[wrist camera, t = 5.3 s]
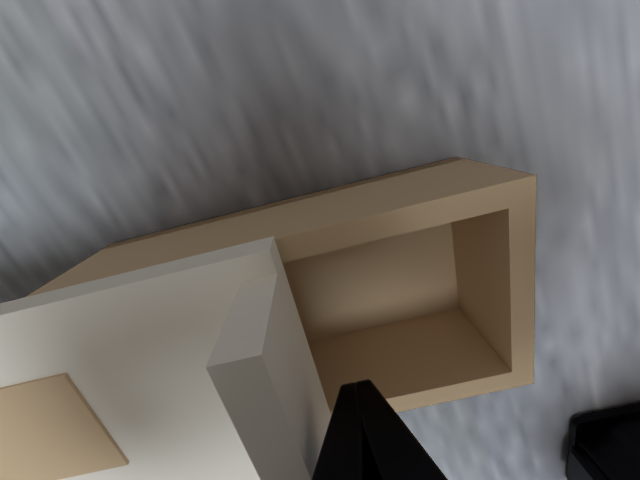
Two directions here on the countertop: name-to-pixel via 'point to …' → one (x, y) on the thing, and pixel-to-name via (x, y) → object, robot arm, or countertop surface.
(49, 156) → the countertop surface
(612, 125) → the countertop surface
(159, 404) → the lid
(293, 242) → the base
